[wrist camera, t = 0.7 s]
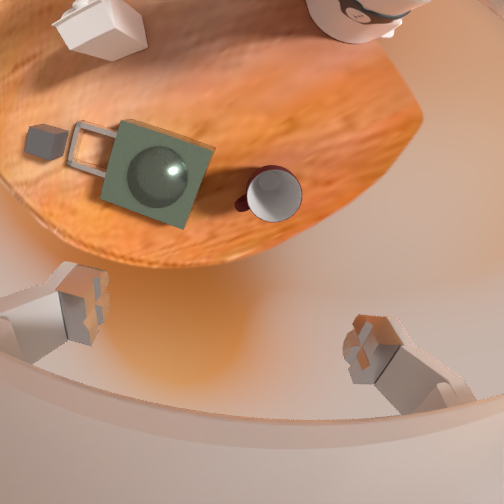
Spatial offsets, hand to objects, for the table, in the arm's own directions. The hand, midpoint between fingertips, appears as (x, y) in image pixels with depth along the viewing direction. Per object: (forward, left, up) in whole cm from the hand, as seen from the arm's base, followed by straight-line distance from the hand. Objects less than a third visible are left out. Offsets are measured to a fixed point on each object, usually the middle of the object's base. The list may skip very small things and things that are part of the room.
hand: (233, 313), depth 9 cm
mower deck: (+9, -17, -44) cm, 48 cm away
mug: (+5, +6, -44) cm, 45 cm away
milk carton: (-12, -27, -44) cm, 53 cm away
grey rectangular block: (+10, -36, -44) cm, 57 cm away
